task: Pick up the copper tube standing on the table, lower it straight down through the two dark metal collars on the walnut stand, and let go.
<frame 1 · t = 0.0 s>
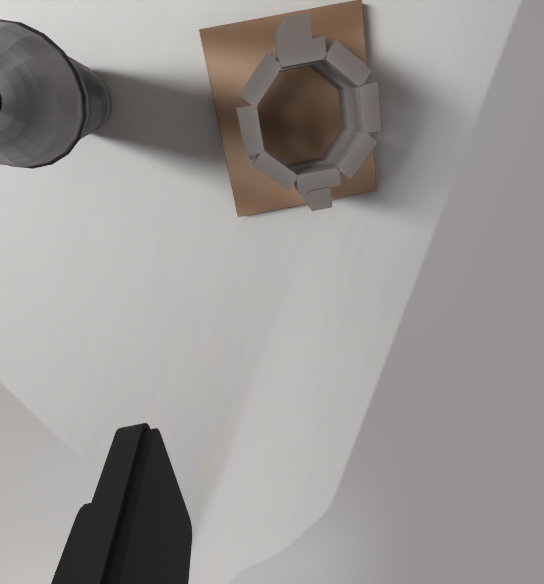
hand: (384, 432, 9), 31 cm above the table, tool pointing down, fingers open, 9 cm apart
collar stand: (293, 116, 36), on the table
beverage cup: (81, 99, 34), on the table
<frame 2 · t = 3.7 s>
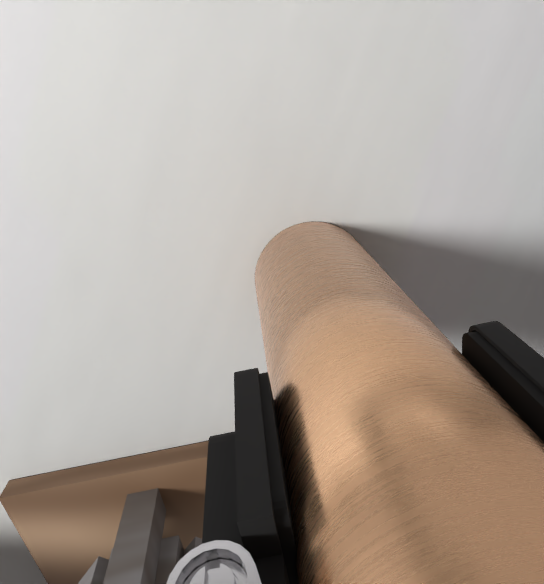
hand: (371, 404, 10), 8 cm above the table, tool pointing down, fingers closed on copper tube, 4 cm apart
collar stand: (178, 556, 23), on the table
copper tube: (311, 277, 18), on the table, touching gripper
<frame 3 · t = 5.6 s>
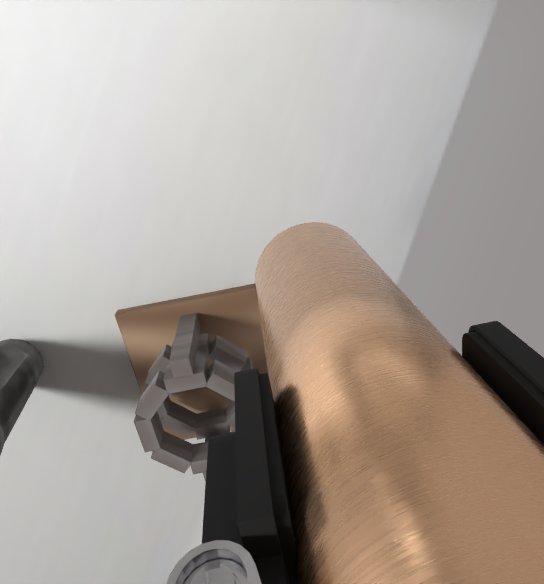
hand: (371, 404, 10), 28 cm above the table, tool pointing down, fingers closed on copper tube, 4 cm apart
collar stand: (204, 365, 41), on the table
copper tube: (311, 277, 18), point 19 cm above the table, touching gripper
beverage cup: (17, 360, 40), on the table
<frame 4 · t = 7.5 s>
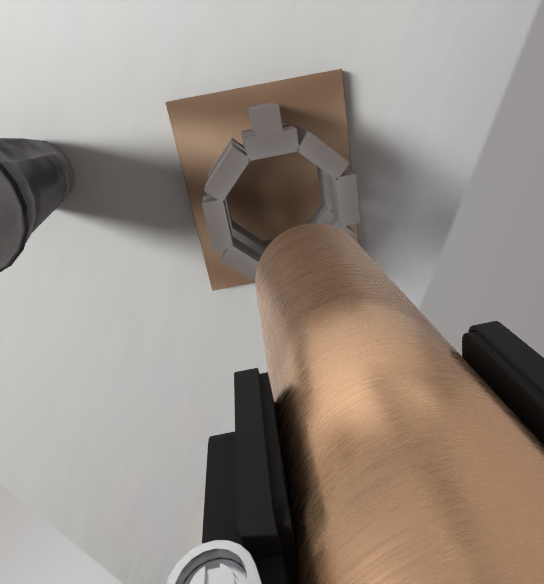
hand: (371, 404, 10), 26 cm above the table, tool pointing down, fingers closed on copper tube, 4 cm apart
collar stand: (270, 186, 34), on the table
copper tube: (311, 278, 18), point 18 cm above the table, touching gripper
beverage cup: (41, 172, 32), on the table
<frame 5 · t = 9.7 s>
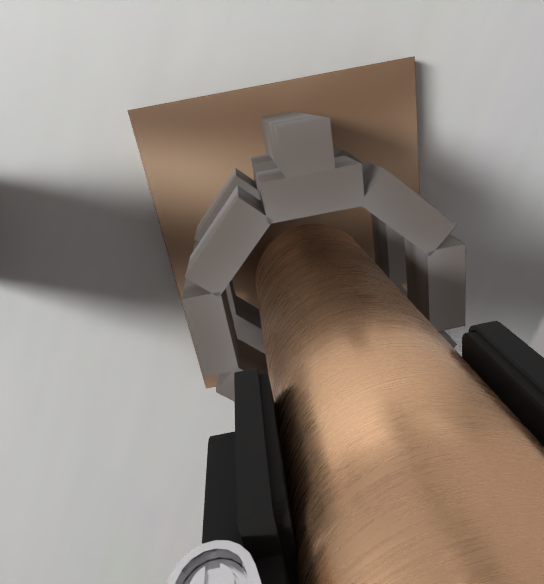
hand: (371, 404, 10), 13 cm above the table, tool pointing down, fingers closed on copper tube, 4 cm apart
collar stand: (294, 238, 22), on the table
copper tube: (311, 278, 18), point 5 cm above the table, touching gripper
when the fingers open (10 cm above the table, at t = 11.5 s): copper tube stays where it is, resting on collar stand.
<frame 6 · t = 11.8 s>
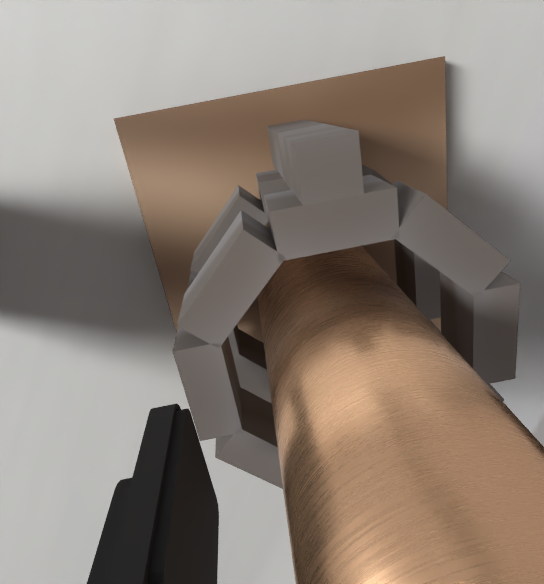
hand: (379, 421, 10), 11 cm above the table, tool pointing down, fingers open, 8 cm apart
collar stand: (303, 261, 20), on the table
copper tube: (307, 268, 19), point 1 cm above the table, touching collar stand
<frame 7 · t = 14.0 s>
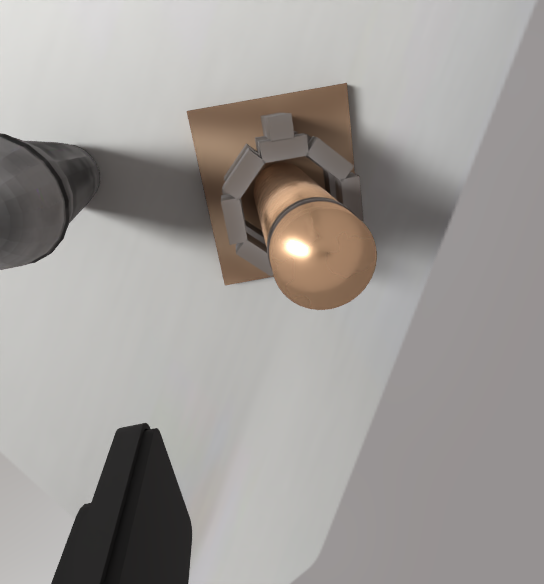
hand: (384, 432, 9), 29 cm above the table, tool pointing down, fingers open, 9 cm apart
collar stand: (280, 189, 37), on the table
copper tube: (281, 191, 36), point 1 cm above the table, touching collar stand
beverage cup: (70, 174, 35), on the table
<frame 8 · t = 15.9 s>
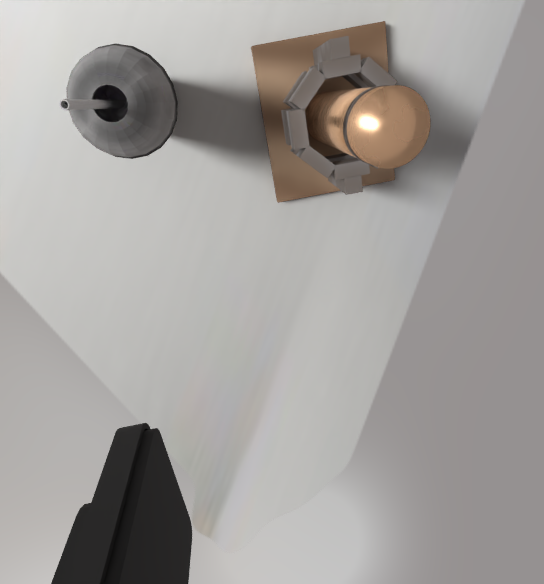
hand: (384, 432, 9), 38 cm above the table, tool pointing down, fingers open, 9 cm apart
collar stand: (326, 117, 43), on the table
copper tube: (328, 117, 42), point 1 cm above the table, touching collar stand
beverage cup: (151, 103, 41), on the table
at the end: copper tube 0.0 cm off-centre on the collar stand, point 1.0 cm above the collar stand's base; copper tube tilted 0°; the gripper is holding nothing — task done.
